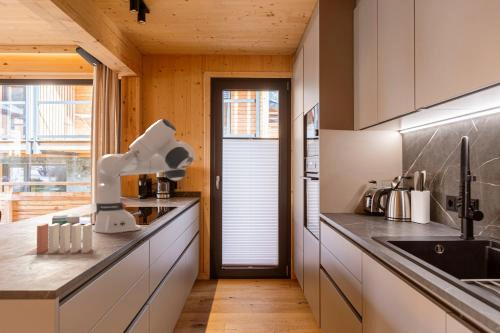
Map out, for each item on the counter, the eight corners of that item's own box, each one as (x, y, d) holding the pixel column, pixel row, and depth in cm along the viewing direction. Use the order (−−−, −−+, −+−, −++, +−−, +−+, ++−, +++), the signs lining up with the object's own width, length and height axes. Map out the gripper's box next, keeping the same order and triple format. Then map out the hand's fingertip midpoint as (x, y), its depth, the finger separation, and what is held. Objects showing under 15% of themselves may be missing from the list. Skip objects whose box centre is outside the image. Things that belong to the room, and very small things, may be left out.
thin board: (101, 249, 130) (101, 247, 130) (92, 256, 120) (92, 254, 120) (36, 250, 127) (36, 248, 127) (21, 257, 117) (22, 255, 117)
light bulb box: (51, 242, 141) (51, 217, 141) (52, 239, 147) (52, 215, 147) (79, 240, 146) (79, 216, 146) (79, 237, 152) (79, 214, 152)
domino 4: (81, 249, 127) (81, 223, 127) (75, 252, 122) (76, 225, 122) (76, 249, 127) (77, 223, 127) (71, 252, 122) (71, 225, 122)
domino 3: (70, 249, 126) (70, 223, 126) (64, 252, 121) (64, 225, 121) (65, 249, 126) (66, 223, 126) (59, 252, 121) (60, 225, 121)
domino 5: (91, 248, 127) (92, 223, 127) (87, 252, 122) (87, 225, 122) (87, 249, 127) (87, 223, 127) (82, 252, 122) (82, 225, 122)
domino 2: (59, 249, 126) (59, 223, 126) (52, 252, 121) (53, 225, 121) (54, 249, 126) (55, 223, 126) (48, 252, 121) (48, 225, 121)
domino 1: (48, 249, 125) (48, 223, 125) (41, 253, 120) (41, 225, 120) (43, 249, 125) (44, 223, 125) (36, 253, 120) (37, 225, 120)
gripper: (140, 157, 118) (112, 183, 117) (151, 158, 138) (126, 180, 137) (128, 144, 117) (99, 171, 116) (140, 147, 138) (115, 170, 137)
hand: (114, 176), depth 127 cm, fingers open, 3 cm apart
